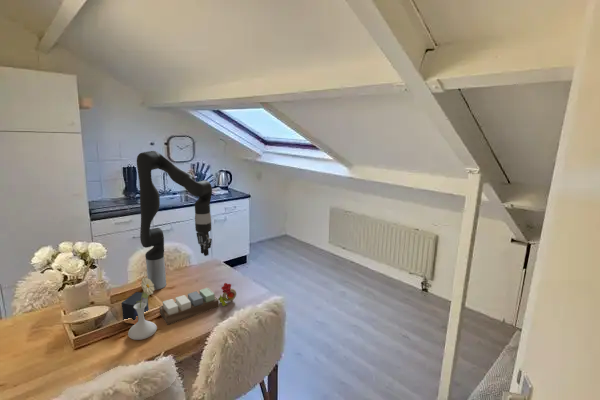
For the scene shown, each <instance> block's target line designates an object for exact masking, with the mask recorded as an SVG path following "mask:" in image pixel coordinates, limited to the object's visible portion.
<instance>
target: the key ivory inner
mask: <svg viewBox="0 0 600 400" xmlns="http://www.w3.org/2000/svg"><path fill="white" fill-rule="evenodd" d="M175 302H176V304H177V305H178V307H179V309H180V310H181V311H184V310H187V309H190V308H191V301H190V300H189V299H188V296H186V295H185V294H183V295H180V296H176V297H175Z"/></svg>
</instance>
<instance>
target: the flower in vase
mask: <svg viewBox="0 0 600 400" xmlns="http://www.w3.org/2000/svg"><path fill="white" fill-rule="evenodd" d="M140 284H141V285H140V286H141V289H142V290H143V291H142V292H141V293H142V297H143V298H145V299H146V298H148V299H149V296H150V295H153V294H154V292H155V290H154V287H153V286H154V284H152V281H151V280H150V279H148V277H144V278H143V277H142V279H141V281H140ZM143 293H144V294H143ZM142 297H141V301H136V303H137V302H140V303H138V304H135V305H134V309H136V311H137V313H138V322H137V323H136V324H135V325H132V326H131V327H130V329H129V330H128V333H127V336H128V337H129V338H130V339H131V340H135V341H137V340H138V341H141V340H145V339H148V338H150V337H152V336H153V335H154V334H155V333H156V331H157V329H158V326H157V325H156V323H154V322H153V321H150V320H146V319H145V317H144V309H145V307H146V305H147V304H146V303H141V302H142Z"/></svg>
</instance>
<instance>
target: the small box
mask: <svg viewBox="0 0 600 400" xmlns="http://www.w3.org/2000/svg"><path fill="white" fill-rule="evenodd" d="M142 293H143V294H144V293H145V292H140V291H136V292H134V293H133V294H131V295H130V296H128V297H127V298H126V299H124V300H123V301H122V302H121V311H122V312H121V313H122V321H123V320H124V319H128V318H132V319H133V320H135V319H136V316H138V313H137V311H136V309H134V305H135V304H138V303H140V302H137V303H136V301H141V297H142ZM141 303H146V304H147V305H146V307H145V309H144V312H146V311H148V310H149V311H150V309H149V297H148V298H146V299H145V298H143V297H142V302H141Z"/></svg>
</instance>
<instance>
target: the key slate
mask: <svg viewBox="0 0 600 400" xmlns="http://www.w3.org/2000/svg"><path fill="white" fill-rule="evenodd" d="M187 298H188V299H189V300H190V301H191V304H192V305H193V306H194V307H196V306H199V305H202V304H203V297H202V296H201V295H200V292H198V291H193V292H190V293H187Z"/></svg>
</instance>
